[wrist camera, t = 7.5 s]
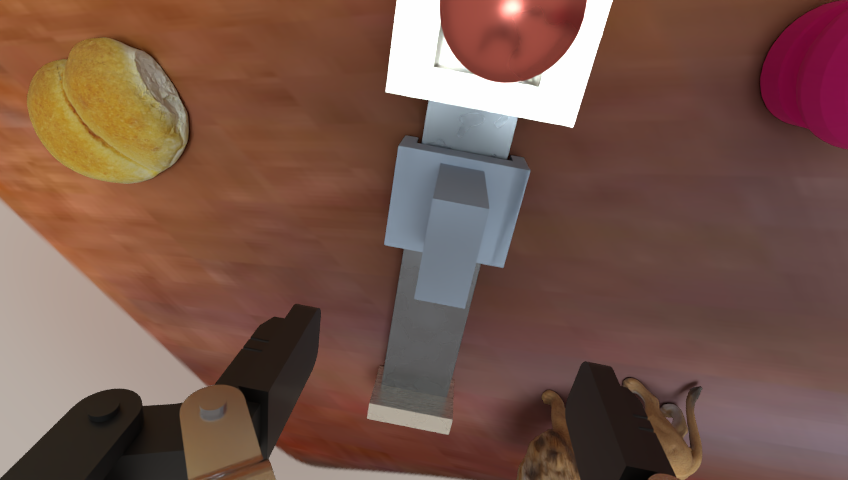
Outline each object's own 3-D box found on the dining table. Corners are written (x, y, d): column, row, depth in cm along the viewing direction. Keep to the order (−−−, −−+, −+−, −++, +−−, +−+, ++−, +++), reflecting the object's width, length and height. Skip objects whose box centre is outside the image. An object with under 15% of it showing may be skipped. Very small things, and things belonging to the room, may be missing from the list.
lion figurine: (517, 445, 37) (531, 560, 29) (497, 399, 35) (506, 507, 27) (703, 405, 33) (780, 523, 25) (691, 352, 32) (770, 460, 23)
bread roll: (32, 83, 28) (-32, 89, 24) (137, 19, 26) (82, 14, 22) (116, 197, 31) (69, 217, 27) (216, 147, 29) (179, 162, 25)
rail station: (580, -35, 23) (634, -73, 15) (462, 396, 35) (461, 488, 28) (428, -63, 23) (411, -114, 15) (365, 377, 35) (338, 464, 28)
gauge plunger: (562, -32, 16) (608, -68, 11) (533, 80, 18) (562, 94, 13) (458, -51, 16) (454, -96, 11) (439, 62, 18) (428, 69, 13)
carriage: (523, 157, 26) (550, 209, 18) (499, 246, 29) (513, 327, 20) (405, 135, 26) (377, 176, 18) (392, 226, 29) (362, 298, 20)
